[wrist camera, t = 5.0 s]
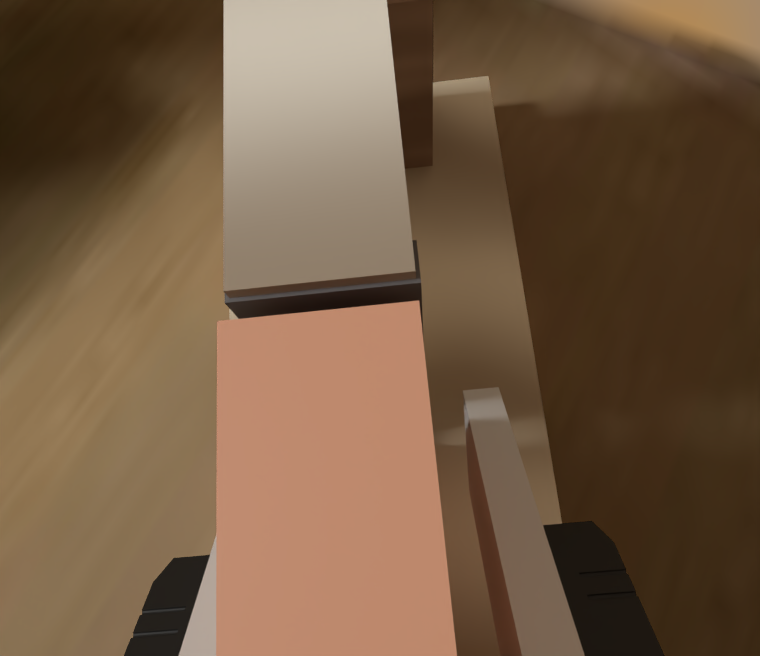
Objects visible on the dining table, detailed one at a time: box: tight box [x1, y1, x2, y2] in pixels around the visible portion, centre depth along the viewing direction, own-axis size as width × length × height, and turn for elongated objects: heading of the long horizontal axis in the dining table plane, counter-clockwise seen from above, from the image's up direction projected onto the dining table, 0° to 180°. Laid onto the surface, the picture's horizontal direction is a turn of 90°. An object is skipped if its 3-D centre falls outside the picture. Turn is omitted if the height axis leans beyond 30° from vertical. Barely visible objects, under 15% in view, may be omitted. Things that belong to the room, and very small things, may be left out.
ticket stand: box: [224, 0, 562, 656], centre depth 12 cm, size 20×8×12 cm, turn 5°
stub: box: [216, 301, 457, 656], centre depth 10 cm, size 7×2×10 cm, turn 5°
